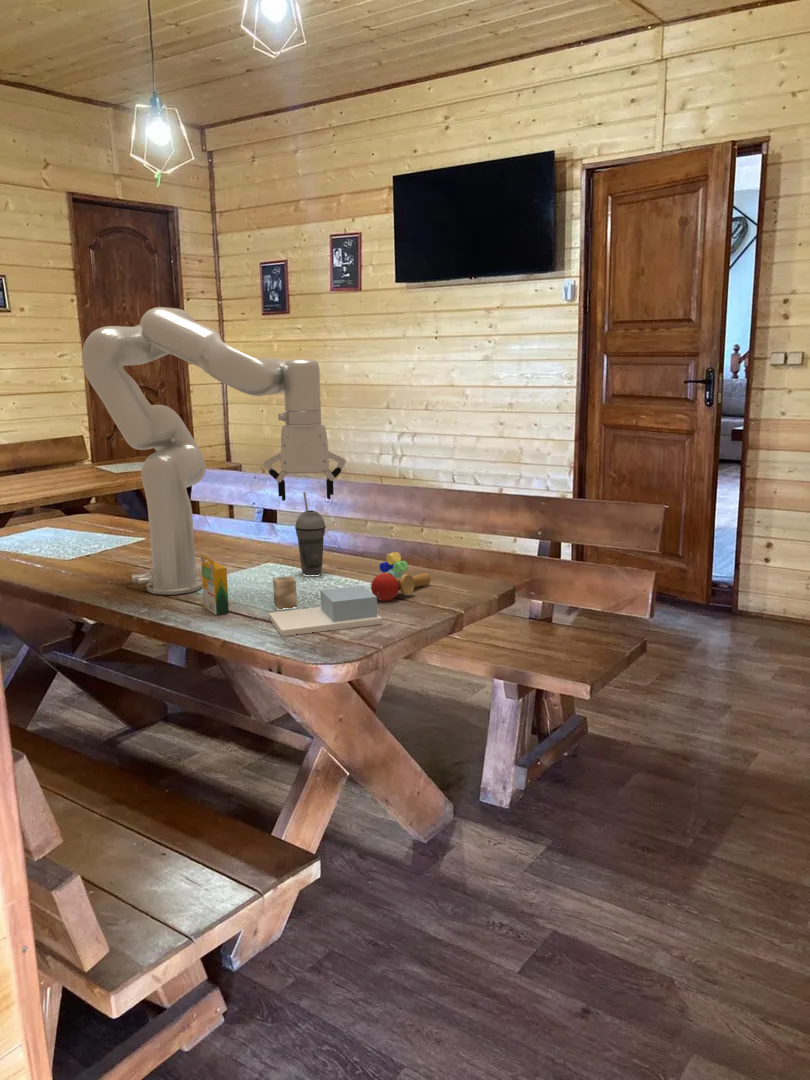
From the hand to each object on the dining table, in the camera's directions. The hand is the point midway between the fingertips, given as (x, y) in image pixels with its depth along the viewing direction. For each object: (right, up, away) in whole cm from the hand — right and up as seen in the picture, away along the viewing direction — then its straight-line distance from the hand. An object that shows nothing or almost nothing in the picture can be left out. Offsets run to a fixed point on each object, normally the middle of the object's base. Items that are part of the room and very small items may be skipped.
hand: (306, 499), depth 188 cm
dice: (+19, -18, +18) cm, 32 cm away
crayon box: (-18, -24, -5) cm, 30 cm away
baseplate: (+5, -25, -14) cm, 29 cm away
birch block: (-4, -23, -3) cm, 24 cm away
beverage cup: (-1, -17, +23) cm, 28 cm away
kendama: (+20, -21, +6) cm, 30 cm away
